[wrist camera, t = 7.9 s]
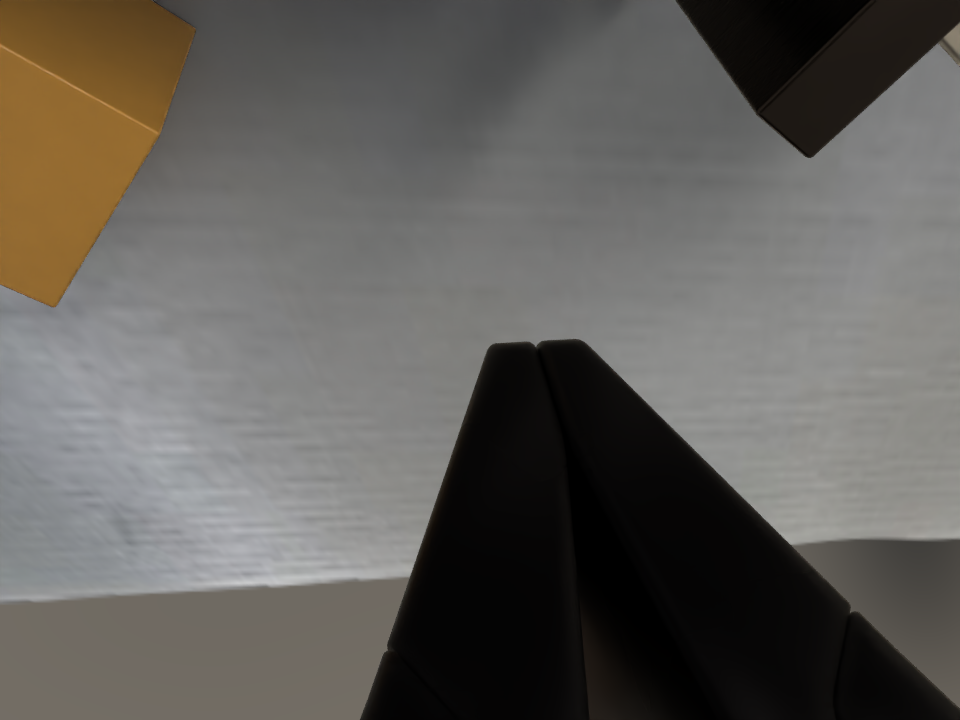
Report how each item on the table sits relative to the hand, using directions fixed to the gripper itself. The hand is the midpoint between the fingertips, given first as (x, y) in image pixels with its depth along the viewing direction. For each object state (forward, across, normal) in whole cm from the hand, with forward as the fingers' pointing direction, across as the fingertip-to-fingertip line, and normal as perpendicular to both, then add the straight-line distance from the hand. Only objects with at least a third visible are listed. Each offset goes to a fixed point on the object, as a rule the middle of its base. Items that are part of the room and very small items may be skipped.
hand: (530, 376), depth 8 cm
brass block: (+12, +8, +2) cm, 15 cm away
